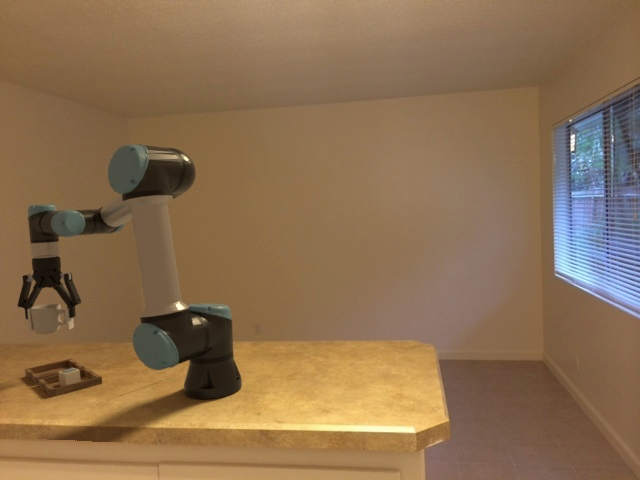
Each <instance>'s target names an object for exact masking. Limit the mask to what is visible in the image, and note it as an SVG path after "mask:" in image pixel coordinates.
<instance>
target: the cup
mask: <svg viewBox="0 0 640 480" xmlns="http://www.w3.org/2000/svg"><path fill="white" fill-rule="evenodd" d="M30 310H31V315H32V320H33V325H34V330H33V331H34V332H35V333H36V334H37V335H49V334H54V333H56V332H58V331H59V330H60V328H61V326H64V325H66V314H65V309H63V308H62V307H61V304H60V303H46V304H39V305H35V306H34V305H33V307H31V309H30ZM61 314H62V315H64V319H63V321H62V320H61Z"/></svg>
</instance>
